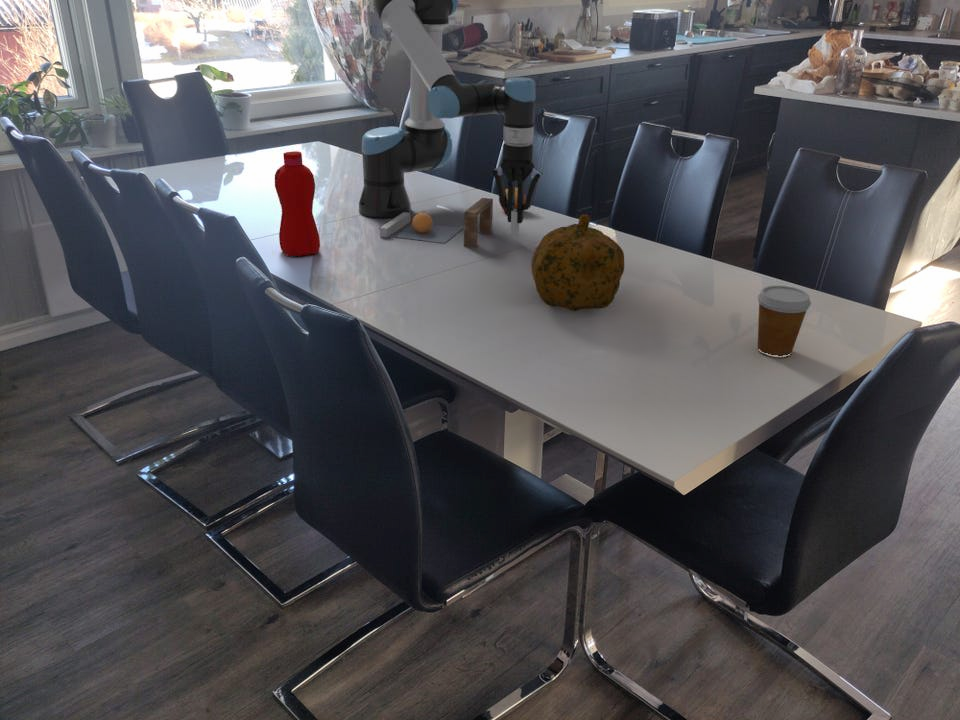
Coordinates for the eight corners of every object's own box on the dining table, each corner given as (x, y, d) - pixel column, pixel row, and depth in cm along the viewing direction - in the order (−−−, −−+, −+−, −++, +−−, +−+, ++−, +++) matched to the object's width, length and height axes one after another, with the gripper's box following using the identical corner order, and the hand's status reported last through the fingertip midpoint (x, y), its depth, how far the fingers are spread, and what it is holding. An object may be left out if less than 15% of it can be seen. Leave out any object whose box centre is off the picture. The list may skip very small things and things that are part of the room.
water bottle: (311, 242, 216) (304, 145, 205) (323, 255, 207) (316, 154, 196) (276, 246, 212) (267, 148, 201) (286, 259, 204) (277, 157, 193)
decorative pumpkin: (505, 294, 183) (517, 205, 175) (575, 283, 195) (589, 199, 187) (565, 328, 169) (581, 233, 160) (636, 314, 181) (655, 225, 172)
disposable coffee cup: (741, 341, 165) (751, 284, 159) (787, 340, 165) (798, 284, 160) (759, 362, 156) (770, 303, 151) (808, 361, 157) (821, 302, 152)
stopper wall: (380, 236, 221) (379, 227, 220) (403, 220, 235) (403, 212, 234) (386, 237, 221) (386, 228, 220) (410, 221, 234) (410, 212, 233)
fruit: (526, 202, 249) (527, 183, 243) (525, 222, 245) (525, 203, 238) (500, 201, 250) (499, 182, 243) (498, 220, 246) (497, 201, 239)
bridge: (464, 246, 215) (464, 211, 211) (481, 230, 228) (482, 197, 224) (474, 247, 215) (475, 212, 211) (492, 231, 227) (492, 198, 223)
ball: (409, 213, 221) (429, 217, 220) (417, 208, 226) (436, 212, 225) (408, 233, 224) (427, 237, 222) (416, 228, 228) (434, 231, 227)
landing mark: (395, 237, 221) (395, 236, 221) (415, 223, 233) (415, 222, 233) (444, 243, 217) (444, 242, 217) (462, 228, 229) (462, 228, 229)
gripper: (488, 144, 206) (486, 235, 216) (539, 148, 202) (535, 241, 212) (497, 138, 212) (495, 227, 222) (547, 142, 208) (542, 233, 219)
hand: (514, 234), depth 217 cm, fingers closed
